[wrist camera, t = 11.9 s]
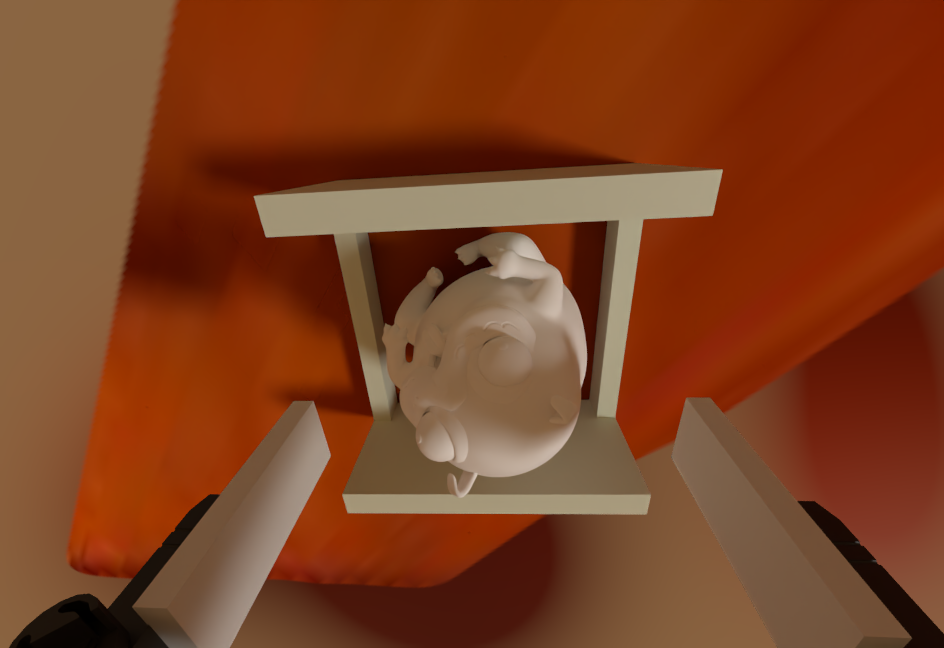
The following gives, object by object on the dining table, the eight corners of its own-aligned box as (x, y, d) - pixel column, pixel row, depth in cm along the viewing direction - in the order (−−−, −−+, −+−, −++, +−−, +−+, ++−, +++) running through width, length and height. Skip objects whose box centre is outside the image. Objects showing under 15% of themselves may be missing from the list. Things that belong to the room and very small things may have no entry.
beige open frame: (337, 180, 20) (253, 196, 13) (636, 162, 19) (722, 169, 12) (385, 418, 28) (347, 513, 20) (604, 415, 27) (646, 514, 19)
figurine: (599, 329, 24) (690, 479, 13) (478, 398, 26) (469, 568, 16) (515, 200, 20) (544, 256, 10) (387, 293, 23) (298, 417, 12)
